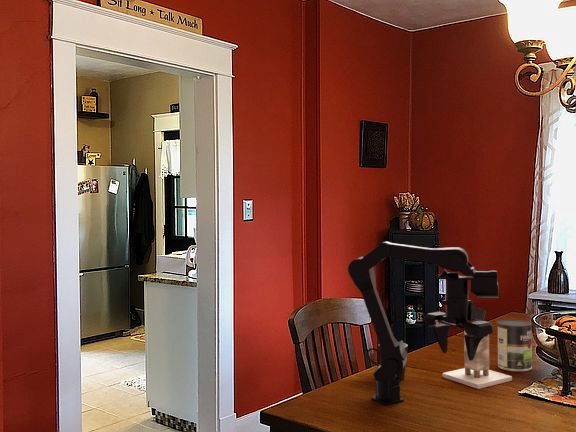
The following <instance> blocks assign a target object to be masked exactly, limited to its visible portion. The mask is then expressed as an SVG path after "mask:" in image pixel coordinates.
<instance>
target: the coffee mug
mask: <svg viewBox="0 0 576 432" xmlns="http://www.w3.org/2000/svg"><path fill="white" fill-rule="evenodd" d="M403 343H404V348H405V350H406V352H407V353H408V348H409V347H408V346H409V345H408V344H407V343H405V342H403ZM371 351H376V352H377V354H378V356H379V357H380V350H379V348H375V347H371V348H369V349H367V351H366V357H367V358H368V360H369V361H370V362H371V364H374V365H375V366H377V367H378V366H379V365H380V364H378V363H377V362H375V360H373V359H372V358H371V356H370V355H369V353H370V352H371ZM379 360H380V361H381V359H379ZM406 366H407V363H406V364H405V366H404V368H403V370H402V371H401V372H400V373H399V374H397V375H396V376H397V377H398V378H399V382H401V381H404V380H405V375H406Z"/></svg>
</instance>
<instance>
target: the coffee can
mask: <svg viewBox="0 0 576 432" xmlns="http://www.w3.org/2000/svg"><path fill="white" fill-rule="evenodd" d="M496 324H497V367H498V368H499V369H501V370H503V371H504V370H505V371H509V372H528V371H531V370H532V369H533V365H532V364H533V363H532V361H533V360H532V359H533V358H532V354H533V353H532V351H533V347H532V346H533V345H532V342H533V341H532V336H533V335H532V333H533V332H532V331H533V329H532V328H533V327H532V325H533V323H532V322H530V321H527V320H521V319H520V320H519V319H502V320H498V321H496Z"/></svg>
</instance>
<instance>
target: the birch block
mask: <svg viewBox="0 0 576 432" xmlns="http://www.w3.org/2000/svg"><path fill="white" fill-rule="evenodd" d="M464 335H467V333H466V332H465V330H463V336H464ZM463 345H464V346H463V348H464V350H463V355H464V357H463V358H464V362H463V363H464V367H463V368H468V369H471V370H474V371H481V370H486V369H489V370H490V334H489V335H488V336H486V337H484V338H483V339H482V340H481V341H480V343H479V345H478V348H477V351H476V354H475V356H474V359H473V360H471V361H470V360H469V358H468V354H467V349H466V343H465V338H464V337H463Z"/></svg>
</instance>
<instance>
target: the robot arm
mask: <svg viewBox="0 0 576 432" xmlns="http://www.w3.org/2000/svg"><path fill="white" fill-rule="evenodd" d="M386 258H392V259H398V260H406V261H413V262H420V263H428V264H431V265H435V266H437V267H439V268H442V269H443V270H442V272H441V273H440V274H439V275H438V276H437V279H438V280H445V285H444V287H445V299H442V301H441V303H442V305H444V306H445V312H442V311H435V312H429V313H427V314H425V316H424V325H427V328H428V329H430V331H431V333H432V334H433V336H434V337H435V340H436V341H437V343H438V346H439V348H440V350H441V352H442V353H443V354H446V353H448V342H449V341H448V340H449V338H448V337H449V336H448V335H449V331H450V329H451V327H456V328H460V329H464V331H465V332H466V333H467V335H464V334H463V339H464V338H465V343H466V349H467V354H468V358H469V360H470V361H471V360H473V359H474V356H475V354H476V351H477V348H478V345H479V343H480V341H481V340H482V339H483V338H484V337H486V336H488V335H489V336H490V334H491V335H492V334H493V332H494V331H493V325H492V323H491V322H490V321H484V320H485V317H486V312H487V311H486V310H485V309H483V308H479V307H476V306H474V302H473V300H471V299H469V281H470V293H471V294H473V295H475V297H476V298H489V299H490V298H492V299H493V298H497V299H499V282H498V270H488V271H487V270H486V271H485V270H484V271H483V270H476V269H475V266H473V265H472V263H471V262H470V260H469V255H468V252H467V251H466V250H465V249H464V248H462V247H460V246H459V247H458V246H457V247H456V246H455V247H454V246H453V247H452V246H451V247H435V248H431V247H423V246H417V245H409V244H403V243H402V244H400V243H395V242H394V243H393V242H390V241H382V242H381V243H379V244H378V245H377V246H376V247H375V248H374V249H373V250H371V251H370V252H368V253H367V254H366V255H365V256H360V257H357V258H355V259H352V261H351V262H349V263H348V266H347V273H348V275H349V277H350V278H351V281H352V282H353V284H354V285H355V287H356V288H357V289H358V290H359V292H360V294H361V295H362V296H361V297H362V300H363V302H364V304H365V307H366V310H367V312H368V315H369V316H368V317H369V319H370V321H371V324H372V327H373V329H374V330H373V331H374V332H375V335H376V338H377V340H378V350H380V356H379V358H380V359H381V360H380V359H379V360H380V364H378V365H379V366H377V368H376V369H375V370H374V371H373V377H374V379H375V381H374V383H375V384H374V386H375V395H372V396H370V398H371V400H373V401H376V402H379V403H380V404H382V405H386V406H387V405H390V404H396V403H400V402H403V401H404V400H405V398H404V397H402V396H401V385H400V381H399V378H398V377H397V376H396V375H397V374H399V373H400V372H401V371H402V370H403V368H404V366H405V364H406V365H407V361H408V359H407V356H408V354H409V353H408V351H407V352H406V350H405V348H404V343H405V342H404V340H400V341H398V340H397V339H396V337H395V336H394V334H393V331H392V328H391V325H390V323H389V320H388V317H387V314H386V311H385V308H384V306H383V303H382V300H381V298H380V295H379V292H378V290H377V289H378V288H377V281H376V272H375V267H376V266H377V265H378V264H380V263H381V262H383V261H384V260H385V259H386ZM448 271H451V272H448ZM460 273H461V274H462V275H460Z"/></svg>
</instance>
